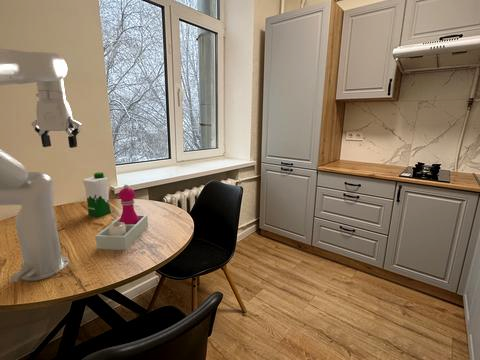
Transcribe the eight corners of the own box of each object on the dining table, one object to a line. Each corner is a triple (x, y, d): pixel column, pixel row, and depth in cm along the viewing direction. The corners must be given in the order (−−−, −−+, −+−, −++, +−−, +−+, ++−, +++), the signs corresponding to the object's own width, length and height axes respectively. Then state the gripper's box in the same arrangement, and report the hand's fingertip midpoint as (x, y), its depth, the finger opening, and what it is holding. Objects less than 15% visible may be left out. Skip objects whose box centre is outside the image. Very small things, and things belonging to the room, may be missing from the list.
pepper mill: (118, 230, 107) (113, 184, 102) (135, 225, 112) (131, 181, 107) (125, 236, 102) (120, 188, 97) (142, 231, 107) (138, 184, 102)
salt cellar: (122, 246, 95) (120, 224, 93) (107, 245, 96) (105, 224, 93) (129, 238, 101) (127, 218, 99) (115, 238, 101) (113, 218, 99)
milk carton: (113, 212, 130) (109, 173, 125) (98, 218, 122) (92, 177, 117) (101, 209, 133) (96, 171, 128) (84, 215, 125) (79, 175, 120)
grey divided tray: (126, 252, 93) (124, 237, 92) (97, 251, 93) (95, 236, 92) (148, 228, 113) (147, 215, 111) (124, 227, 113) (122, 214, 112)
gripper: (18, 95, 85) (28, 147, 89) (69, 96, 85) (76, 149, 89) (36, 97, 92) (44, 145, 97) (83, 98, 92) (90, 146, 96)
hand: (60, 147), depth 93 cm, fingers open, 9 cm apart
